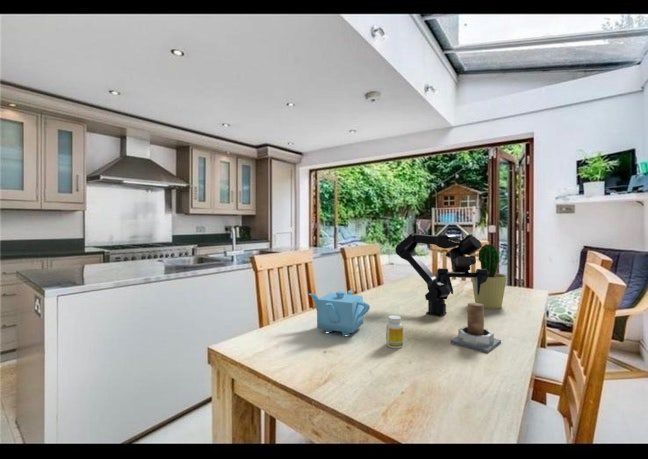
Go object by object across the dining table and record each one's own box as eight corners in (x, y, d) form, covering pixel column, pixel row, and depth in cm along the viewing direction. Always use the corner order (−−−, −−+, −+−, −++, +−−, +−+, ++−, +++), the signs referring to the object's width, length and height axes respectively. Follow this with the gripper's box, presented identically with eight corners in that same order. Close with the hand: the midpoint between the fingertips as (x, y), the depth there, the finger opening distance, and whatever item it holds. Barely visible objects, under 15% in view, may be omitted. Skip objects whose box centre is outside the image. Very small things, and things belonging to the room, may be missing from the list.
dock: (450, 343, 113) (450, 331, 113) (465, 334, 121) (465, 323, 121) (487, 353, 104) (487, 340, 104) (501, 342, 113) (501, 331, 113)
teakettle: (373, 335, 121) (373, 294, 121) (325, 342, 115) (324, 299, 114) (351, 320, 139) (351, 285, 138) (308, 326, 132) (307, 289, 132)
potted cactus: (507, 303, 163) (508, 242, 162) (505, 311, 150) (505, 244, 149) (473, 300, 171) (473, 241, 170) (468, 306, 158) (468, 243, 157)
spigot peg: (464, 339, 113) (465, 304, 112) (471, 336, 116) (471, 302, 116) (480, 343, 109) (480, 307, 109) (486, 339, 113) (486, 304, 112)
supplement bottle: (383, 344, 112) (383, 316, 112) (396, 341, 115) (396, 313, 114) (393, 349, 108) (393, 320, 107) (406, 347, 110) (406, 318, 110)
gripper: (437, 248, 132) (442, 281, 121) (487, 248, 129) (497, 282, 118) (433, 265, 140) (438, 297, 129) (481, 265, 137) (489, 298, 127)
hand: (465, 293), depth 126 cm, fingers open, 9 cm apart
